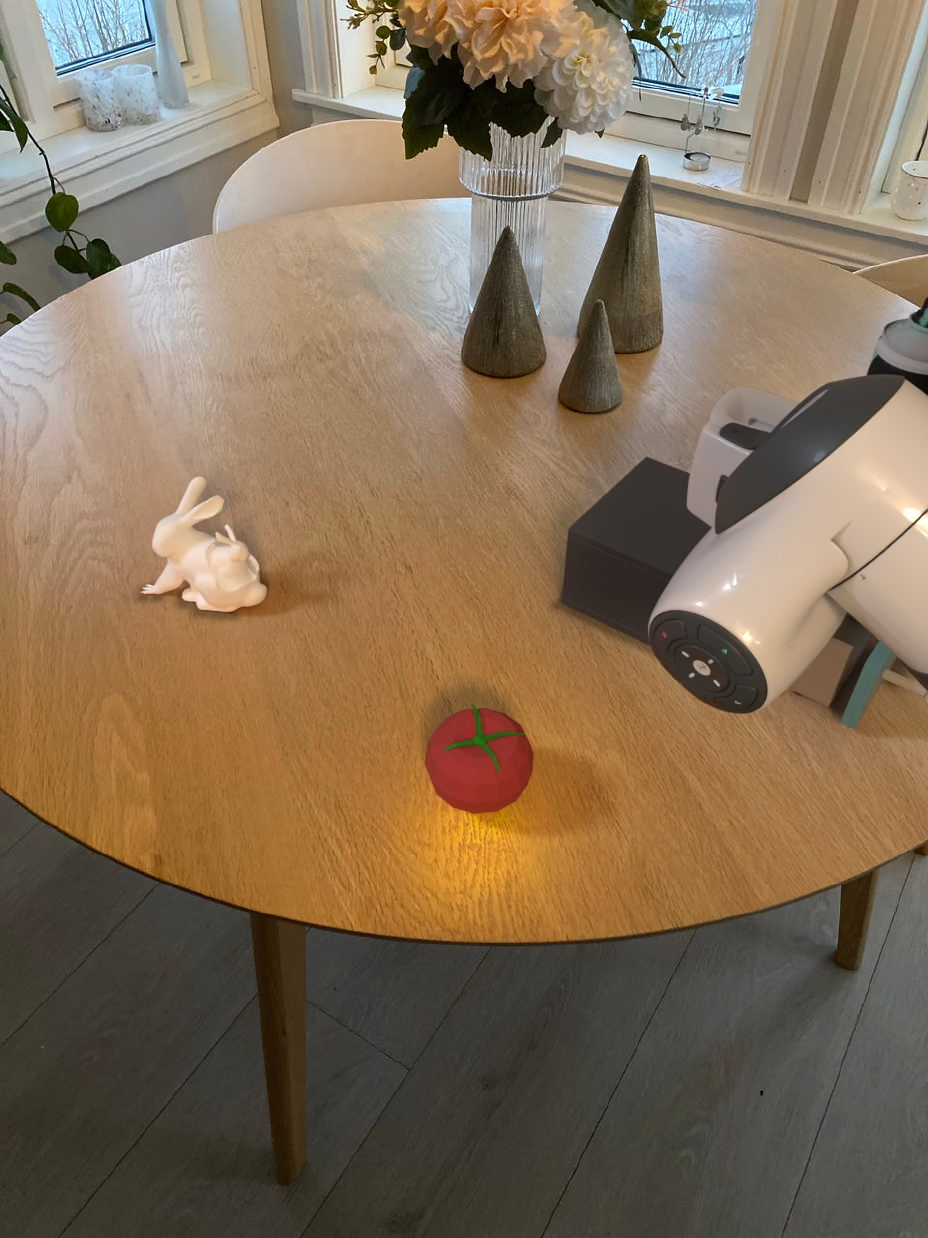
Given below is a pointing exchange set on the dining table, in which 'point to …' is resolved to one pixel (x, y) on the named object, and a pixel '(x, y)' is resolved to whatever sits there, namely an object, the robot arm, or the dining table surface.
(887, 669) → the drawer
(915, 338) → the spray can
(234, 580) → the rabbit figurine
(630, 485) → the cabinet
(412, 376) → the dining table surface
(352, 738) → the dining table surface
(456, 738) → the tomato
